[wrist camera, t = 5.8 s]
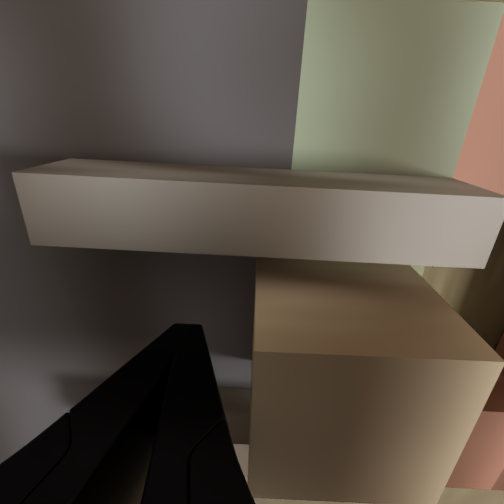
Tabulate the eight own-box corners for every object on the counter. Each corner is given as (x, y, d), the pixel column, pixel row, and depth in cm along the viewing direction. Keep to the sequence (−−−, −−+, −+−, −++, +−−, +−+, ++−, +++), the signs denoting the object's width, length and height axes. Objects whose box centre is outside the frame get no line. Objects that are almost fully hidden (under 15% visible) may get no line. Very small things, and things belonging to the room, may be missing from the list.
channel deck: (36, 410, 15) (-47, 520, 11) (-102, 5, 9) (-438, -96, 4) (486, 434, 15) (571, 554, 11) (695, 45, 8) (1104, -19, 4)
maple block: (251, 360, 10) (247, 497, 7) (256, 249, 9) (254, 351, 5) (372, 365, 10) (435, 505, 7) (400, 255, 9) (506, 362, 5)
